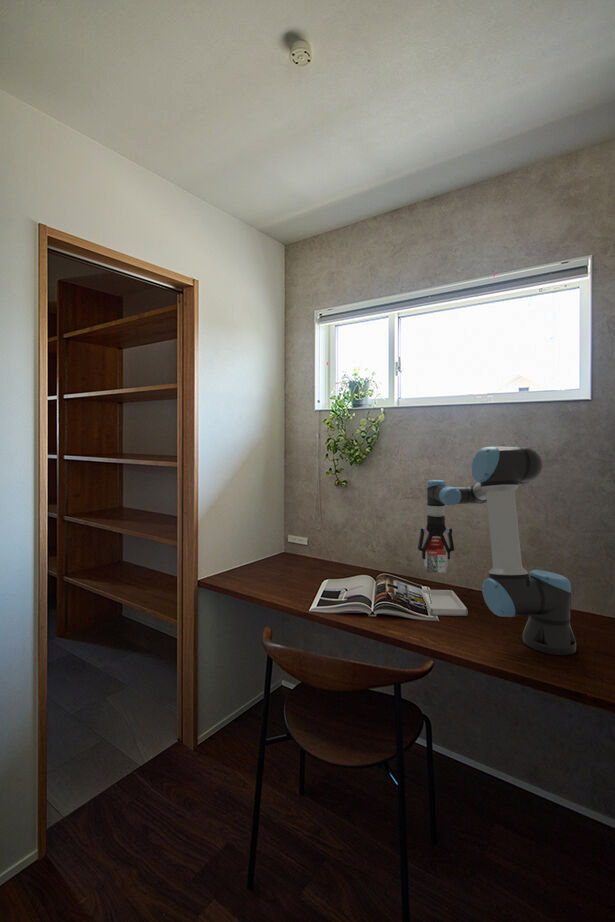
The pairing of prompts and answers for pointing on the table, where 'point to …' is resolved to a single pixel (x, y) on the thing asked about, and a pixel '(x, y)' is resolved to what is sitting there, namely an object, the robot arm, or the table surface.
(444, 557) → the ink box
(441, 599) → the tray
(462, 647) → the table surface
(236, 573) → the table surface
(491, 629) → the table surface
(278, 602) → the table surface
